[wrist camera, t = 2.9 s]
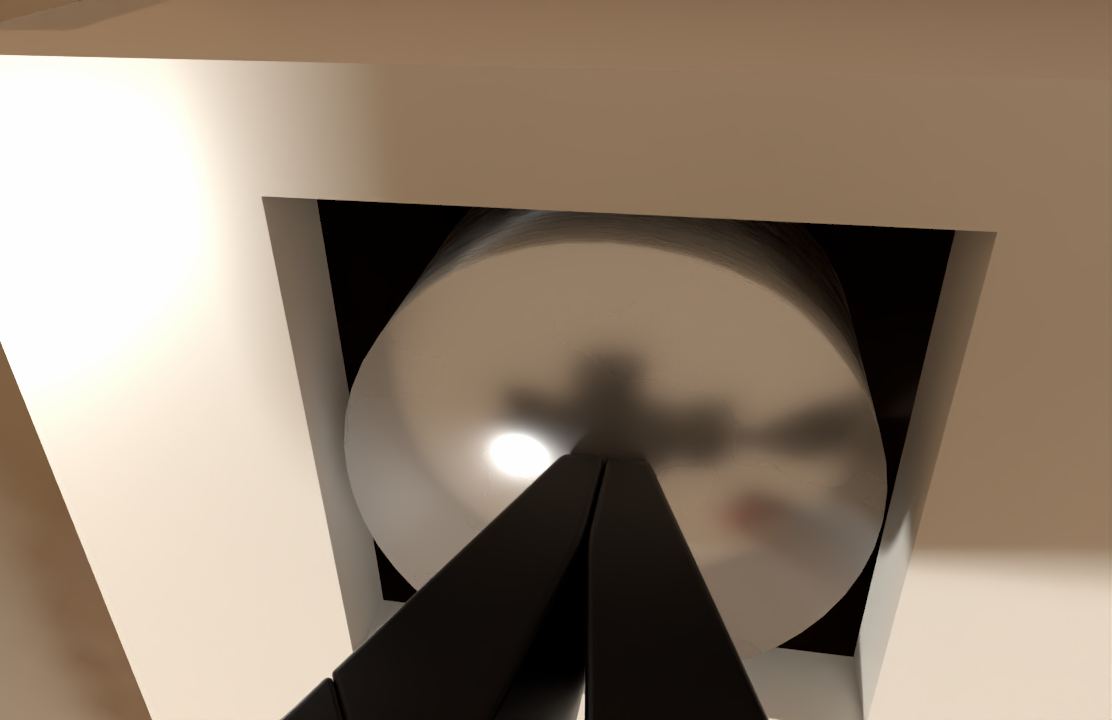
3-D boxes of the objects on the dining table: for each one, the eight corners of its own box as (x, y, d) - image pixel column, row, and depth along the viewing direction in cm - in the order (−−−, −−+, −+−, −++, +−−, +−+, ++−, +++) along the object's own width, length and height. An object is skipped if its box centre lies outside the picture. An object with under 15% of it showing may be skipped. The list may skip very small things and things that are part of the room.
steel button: (892, 158, 9) (944, 263, 7) (819, 543, 11) (839, 704, 9) (398, 140, 10) (303, 229, 7) (438, 504, 12) (378, 644, 10)
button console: (1249, -10, 9) (1575, 92, 5) (923, 868, 17) (971, 1124, 14) (153, -19, 11) (-116, 52, 7) (342, 779, 19) (258, 985, 15)
